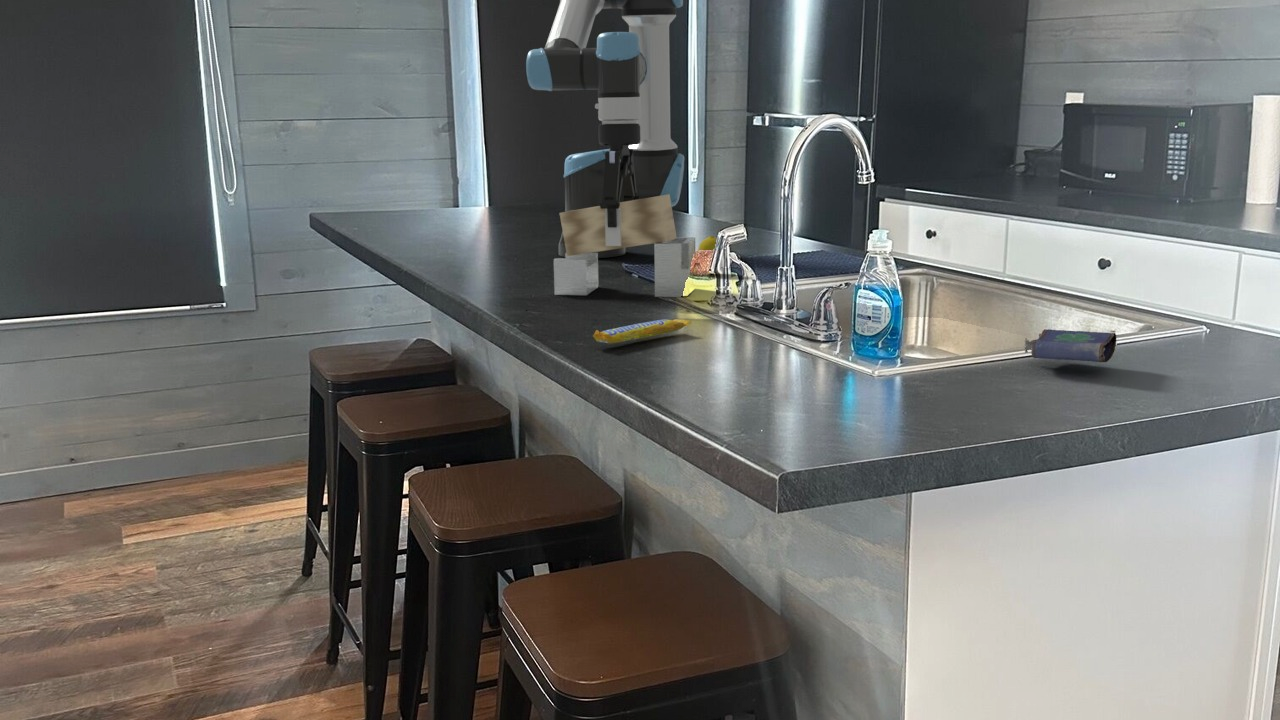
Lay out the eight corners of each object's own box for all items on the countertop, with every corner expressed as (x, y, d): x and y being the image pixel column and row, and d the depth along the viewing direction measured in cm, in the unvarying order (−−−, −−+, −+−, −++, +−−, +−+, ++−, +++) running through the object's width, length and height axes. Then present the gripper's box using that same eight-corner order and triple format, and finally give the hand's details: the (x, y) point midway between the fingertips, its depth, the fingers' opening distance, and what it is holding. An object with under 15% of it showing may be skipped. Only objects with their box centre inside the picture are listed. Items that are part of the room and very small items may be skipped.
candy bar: (606, 346, 158) (606, 333, 158) (588, 342, 162) (588, 329, 161) (692, 330, 169) (692, 318, 169) (674, 326, 172) (674, 315, 172)
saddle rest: (567, 286, 210) (566, 252, 209) (598, 286, 209) (597, 252, 208) (554, 294, 201) (553, 259, 199) (586, 295, 200) (585, 259, 198)
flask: (1104, 345, 137) (1016, 341, 143) (1104, 368, 138) (1016, 363, 143) (1116, 329, 145) (1032, 326, 150) (1116, 351, 145) (1032, 347, 151)
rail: (567, 256, 203) (559, 213, 202) (578, 253, 208) (571, 210, 206) (666, 241, 195) (659, 196, 194) (676, 238, 199) (669, 194, 198)
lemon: (725, 273, 224) (725, 234, 223) (724, 277, 219) (724, 237, 217) (698, 273, 225) (698, 234, 223) (696, 277, 220) (696, 237, 218)
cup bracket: (663, 287, 207) (663, 237, 205) (695, 288, 206) (695, 237, 204) (654, 296, 197) (654, 243, 195) (688, 297, 196) (687, 243, 194)
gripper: (612, 121, 209) (614, 233, 214) (582, 123, 185) (585, 249, 190) (651, 121, 208) (652, 234, 213) (626, 123, 184) (628, 249, 189)
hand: (621, 241), depth 201 cm, fingers open, 13 cm apart
